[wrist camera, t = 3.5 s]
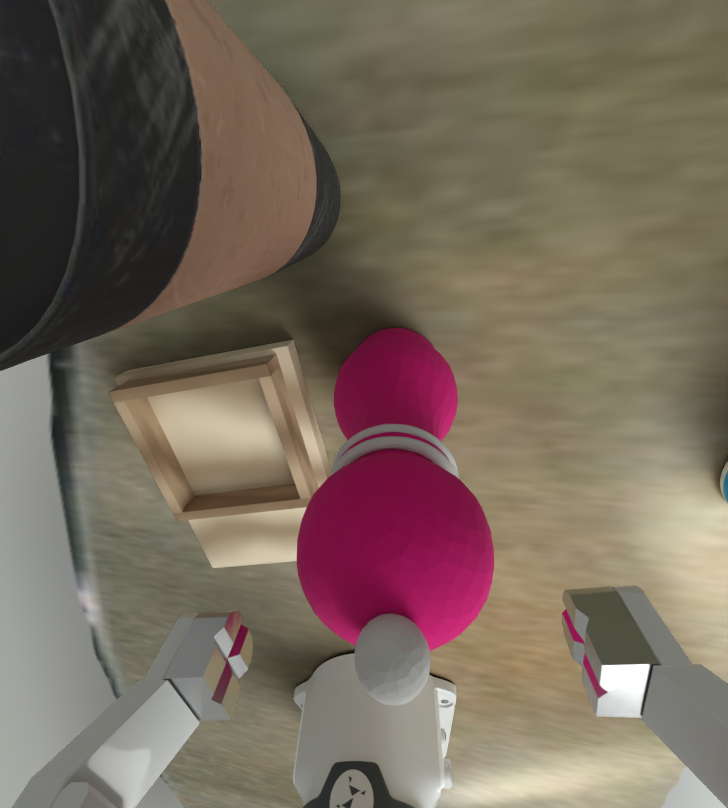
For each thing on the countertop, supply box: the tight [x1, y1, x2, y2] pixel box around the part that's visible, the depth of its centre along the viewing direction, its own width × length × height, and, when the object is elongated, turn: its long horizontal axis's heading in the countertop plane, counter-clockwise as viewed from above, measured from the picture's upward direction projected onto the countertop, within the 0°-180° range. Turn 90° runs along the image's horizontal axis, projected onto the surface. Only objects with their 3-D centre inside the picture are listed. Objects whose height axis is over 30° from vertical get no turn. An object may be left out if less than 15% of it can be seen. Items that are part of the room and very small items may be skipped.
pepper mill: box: [297, 328, 494, 705], centre depth 17 cm, size 7×7×20 cm
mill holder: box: [108, 340, 332, 568], centre depth 29 cm, size 19×13×4 cm
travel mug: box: [0, 0, 340, 371], centre depth 13 cm, size 8×8×20 cm
